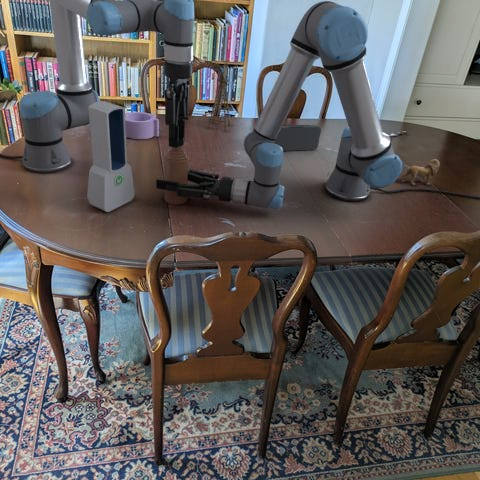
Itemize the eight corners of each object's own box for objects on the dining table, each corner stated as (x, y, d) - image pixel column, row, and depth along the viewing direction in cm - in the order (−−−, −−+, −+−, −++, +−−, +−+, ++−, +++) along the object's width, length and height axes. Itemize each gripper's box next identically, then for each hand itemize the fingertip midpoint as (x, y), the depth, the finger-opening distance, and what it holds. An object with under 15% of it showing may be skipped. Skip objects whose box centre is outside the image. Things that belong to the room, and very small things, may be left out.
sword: (403, 131, 224) (404, 129, 223) (408, 133, 222) (409, 131, 221) (360, 143, 208) (360, 140, 207) (365, 145, 206) (366, 142, 205)
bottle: (165, 192, 150) (166, 134, 139) (188, 194, 150) (190, 136, 140) (162, 203, 144) (163, 143, 133) (186, 205, 144) (188, 145, 134)
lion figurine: (428, 178, 179) (435, 156, 174) (437, 184, 175) (445, 162, 170) (396, 181, 174) (403, 158, 169) (405, 187, 170) (412, 164, 165)
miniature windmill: (225, 131, 202) (231, 58, 186) (207, 128, 203) (211, 56, 187) (230, 124, 210) (236, 54, 194) (212, 121, 211) (216, 51, 195)
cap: (174, 140, 139) (174, 133, 138) (186, 143, 138) (186, 136, 137) (167, 144, 136) (167, 138, 135) (179, 147, 135) (179, 141, 134)
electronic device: (105, 214, 135) (97, 112, 119) (87, 205, 138) (77, 105, 122) (135, 199, 144) (132, 102, 128) (117, 191, 147) (112, 96, 131)
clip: (108, 140, 182) (107, 123, 178) (105, 128, 191) (104, 112, 188) (160, 138, 188) (160, 121, 184) (154, 127, 198) (154, 111, 194)
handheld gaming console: (315, 147, 196) (319, 124, 190) (317, 149, 194) (322, 126, 188) (264, 149, 189) (267, 125, 183) (266, 152, 187) (269, 127, 181)
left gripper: (177, 53, 132) (176, 132, 145) (151, 65, 118) (152, 151, 131) (202, 57, 131) (198, 136, 144) (179, 69, 117) (177, 156, 130)
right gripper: (225, 216, 136) (149, 203, 138) (237, 187, 152) (170, 176, 155) (227, 193, 132) (149, 180, 134) (239, 166, 148) (170, 155, 151)
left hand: (176, 143), depth 137 cm, fingers closed on cap, 4 cm apart
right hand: (160, 178), depth 144 cm, fingers closed on bottle, 7 cm apart
